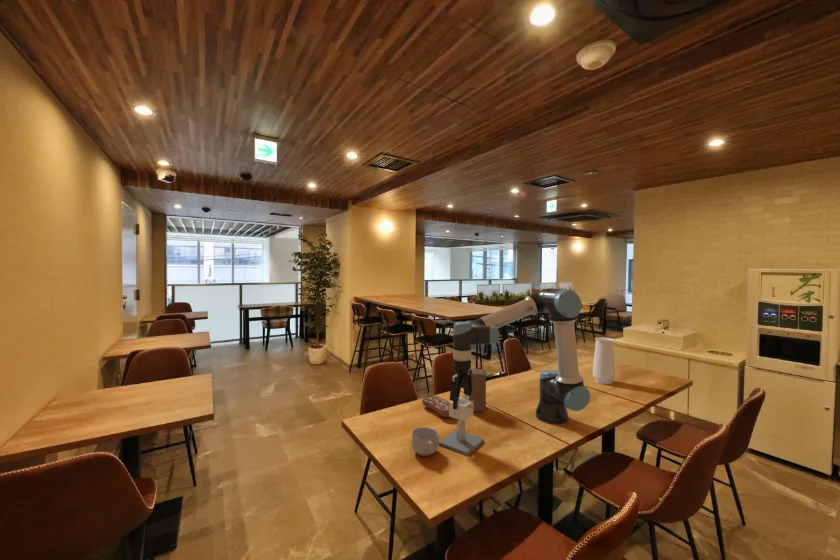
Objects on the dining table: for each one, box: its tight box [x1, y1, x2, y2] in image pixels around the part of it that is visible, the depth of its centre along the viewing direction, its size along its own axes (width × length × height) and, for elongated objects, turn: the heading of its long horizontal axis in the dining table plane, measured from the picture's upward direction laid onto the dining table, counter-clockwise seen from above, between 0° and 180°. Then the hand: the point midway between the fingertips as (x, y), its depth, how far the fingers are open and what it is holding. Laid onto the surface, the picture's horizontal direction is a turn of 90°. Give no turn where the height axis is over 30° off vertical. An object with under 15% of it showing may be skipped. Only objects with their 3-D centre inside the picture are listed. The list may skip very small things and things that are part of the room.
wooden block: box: [469, 368, 487, 413], centre depth 183 cm, size 10×10×20 cm
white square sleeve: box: [448, 396, 474, 422], centre depth 146 cm, size 9×7×6 cm
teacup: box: [411, 426, 440, 457], centre depth 138 cm, size 14×11×8 cm
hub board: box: [438, 419, 485, 456], centre depth 147 cm, size 14×14×9 cm
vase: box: [592, 336, 616, 385], centre depth 226 cm, size 13×13×28 cm
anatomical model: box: [421, 394, 450, 419], centre depth 179 cm, size 23×10×5 cm, turn 34°
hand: (461, 412), depth 147 cm, fingers closed on white square sleeve, 7 cm apart
